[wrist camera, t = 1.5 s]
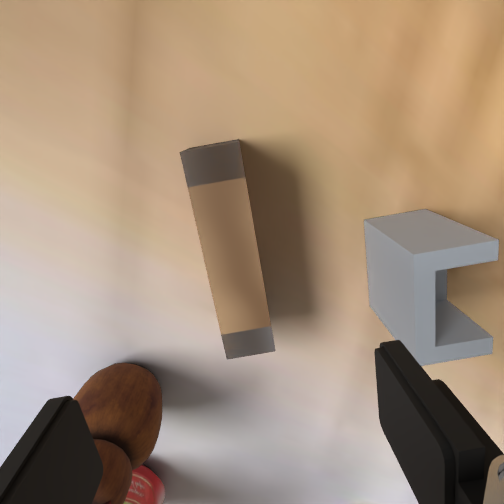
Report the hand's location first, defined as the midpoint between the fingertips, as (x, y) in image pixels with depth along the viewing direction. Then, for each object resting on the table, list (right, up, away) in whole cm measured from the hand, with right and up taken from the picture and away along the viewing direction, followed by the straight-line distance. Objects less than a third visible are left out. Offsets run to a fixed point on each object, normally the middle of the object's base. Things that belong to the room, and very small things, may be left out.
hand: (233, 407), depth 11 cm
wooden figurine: (-10, -6, +20) cm, 23 cm away
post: (+12, +4, +17) cm, 21 cm away
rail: (-1, +6, +16) cm, 17 cm away
